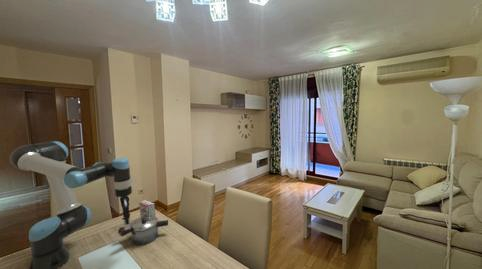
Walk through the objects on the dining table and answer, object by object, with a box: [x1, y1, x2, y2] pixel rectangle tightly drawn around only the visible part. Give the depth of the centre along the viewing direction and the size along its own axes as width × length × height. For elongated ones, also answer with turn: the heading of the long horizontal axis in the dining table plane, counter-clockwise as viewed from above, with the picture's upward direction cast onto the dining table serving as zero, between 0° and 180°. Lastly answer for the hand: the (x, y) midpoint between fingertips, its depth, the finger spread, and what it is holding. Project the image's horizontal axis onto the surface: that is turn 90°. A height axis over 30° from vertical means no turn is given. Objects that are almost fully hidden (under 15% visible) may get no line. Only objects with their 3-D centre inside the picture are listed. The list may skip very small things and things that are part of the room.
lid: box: [118, 215, 159, 237], centre depth 119 cm, size 22×16×3 cm
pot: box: [118, 219, 169, 247], centre depth 122 cm, size 28×15×9 cm, turn 106°
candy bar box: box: [138, 199, 156, 218], centre depth 136 cm, size 11×5×16 cm, turn 58°
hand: (127, 228), depth 106 cm, fingers closed
